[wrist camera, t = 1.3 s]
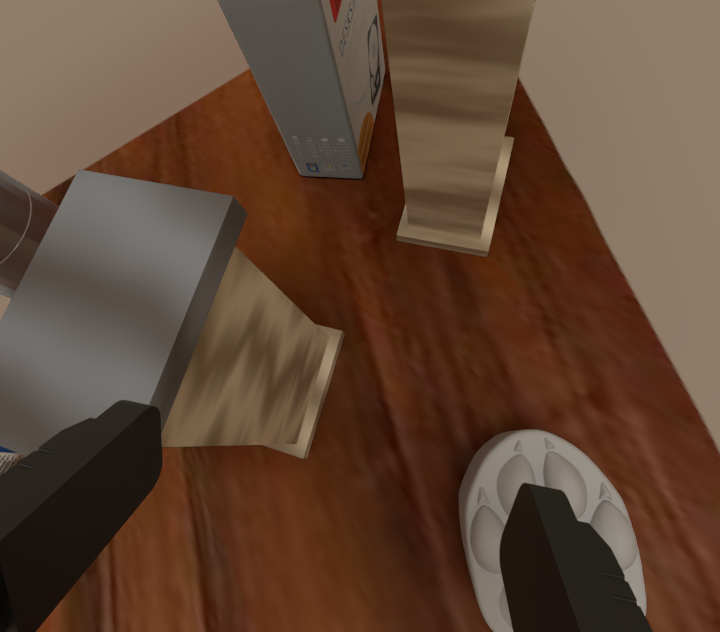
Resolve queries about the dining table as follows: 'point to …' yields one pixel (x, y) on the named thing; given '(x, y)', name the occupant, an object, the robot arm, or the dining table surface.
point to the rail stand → (454, 113)
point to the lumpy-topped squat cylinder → (498, 492)
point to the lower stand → (158, 325)
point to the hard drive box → (315, 76)
